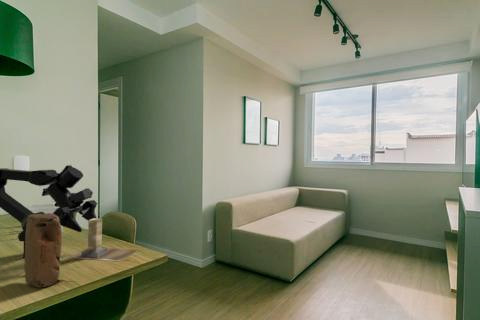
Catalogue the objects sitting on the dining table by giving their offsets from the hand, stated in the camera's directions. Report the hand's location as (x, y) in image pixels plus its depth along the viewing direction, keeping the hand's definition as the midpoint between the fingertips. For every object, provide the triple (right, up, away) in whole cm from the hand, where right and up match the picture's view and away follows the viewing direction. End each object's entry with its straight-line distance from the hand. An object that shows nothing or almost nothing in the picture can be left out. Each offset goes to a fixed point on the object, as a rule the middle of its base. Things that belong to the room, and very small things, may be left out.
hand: (89, 228), depth 101 cm
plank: (+5, -11, +1) cm, 12 cm away
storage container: (-43, -10, +37) cm, 58 cm away
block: (-3, -12, -19) cm, 22 cm away
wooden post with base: (+2, -10, 0) cm, 10 cm away
